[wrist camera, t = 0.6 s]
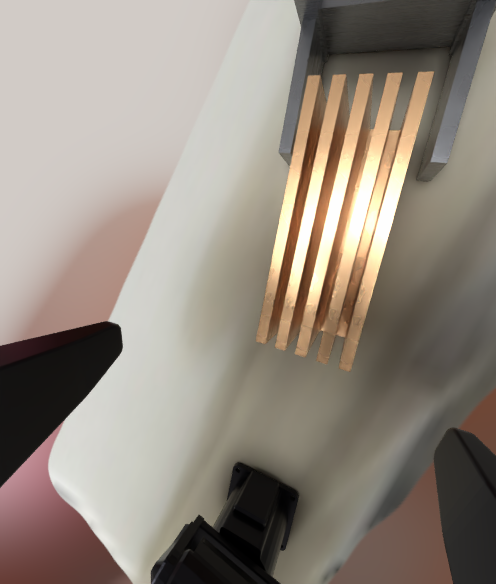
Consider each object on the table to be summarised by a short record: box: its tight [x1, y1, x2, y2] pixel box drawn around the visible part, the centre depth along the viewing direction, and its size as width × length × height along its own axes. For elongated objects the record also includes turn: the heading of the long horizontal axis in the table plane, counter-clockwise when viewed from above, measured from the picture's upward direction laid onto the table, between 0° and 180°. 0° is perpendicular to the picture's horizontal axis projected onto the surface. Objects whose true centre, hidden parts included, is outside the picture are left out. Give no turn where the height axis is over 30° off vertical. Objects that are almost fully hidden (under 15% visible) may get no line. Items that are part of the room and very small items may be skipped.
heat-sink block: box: [256, 72, 434, 372], centre depth 18 cm, size 14×6×8 cm, turn 169°
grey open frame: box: [279, 0, 496, 181], centre depth 14 cm, size 9×10×10 cm
